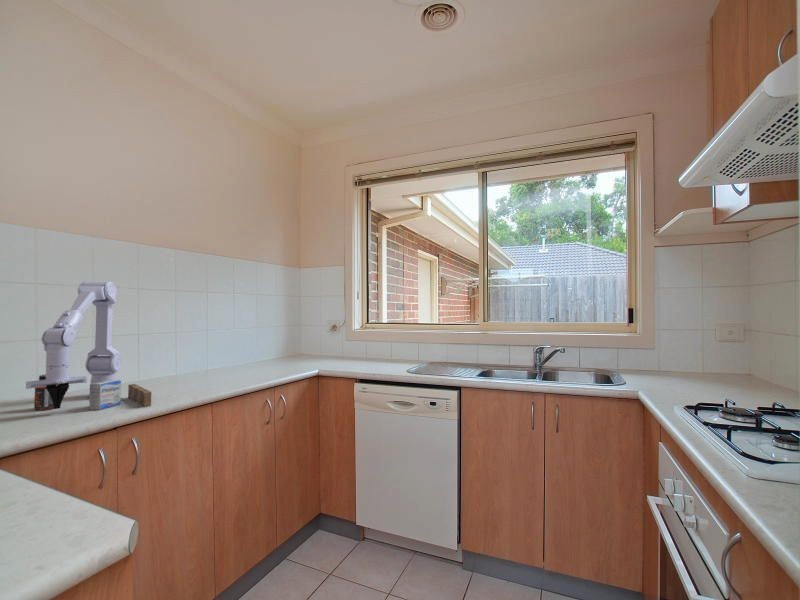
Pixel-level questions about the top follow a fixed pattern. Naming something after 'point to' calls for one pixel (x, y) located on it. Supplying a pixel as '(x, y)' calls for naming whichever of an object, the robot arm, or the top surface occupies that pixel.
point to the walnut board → (139, 395)
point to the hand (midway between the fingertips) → (56, 408)
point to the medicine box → (105, 394)
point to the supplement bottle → (42, 397)
